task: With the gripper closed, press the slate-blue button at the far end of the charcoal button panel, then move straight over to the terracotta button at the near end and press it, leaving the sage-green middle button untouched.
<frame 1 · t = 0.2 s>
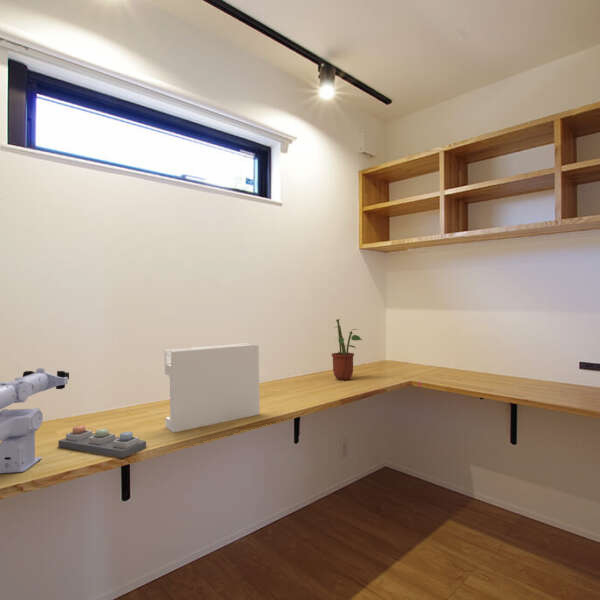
hand: (55, 375, 130), 22 cm above the table, tool horizontal, fingers open, 7 cm apart
terracotta button: (79, 429, 127), point 5 cm above the table, slide at 0.0 cm
potted plant: (346, 379, 232), on the table
block: (214, 420, 151), on the table
slate button: (126, 436, 120), point 5 cm above the table, slide at 0.0 cm
sage button: (101, 432, 124), point 5 cm above the table, slide at 0.0 cm
button panel: (102, 447, 124), on the table
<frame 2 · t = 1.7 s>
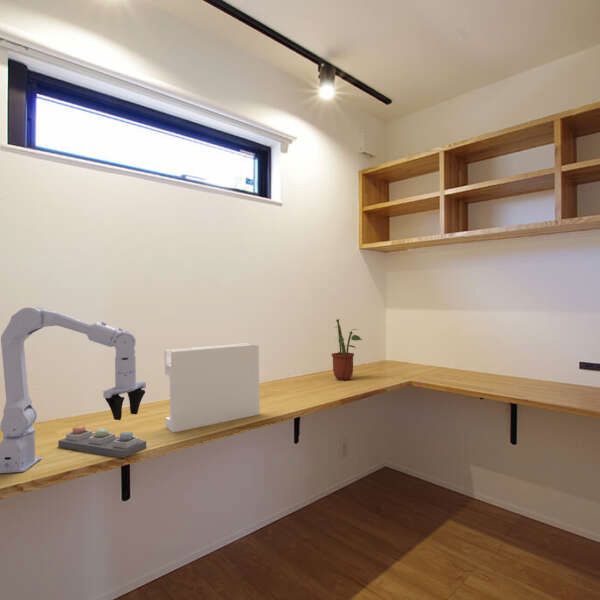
hand: (125, 416, 120), 10 cm above the table, tool pointing down, fingers open, 6 cm apart
nothing on the table moved.
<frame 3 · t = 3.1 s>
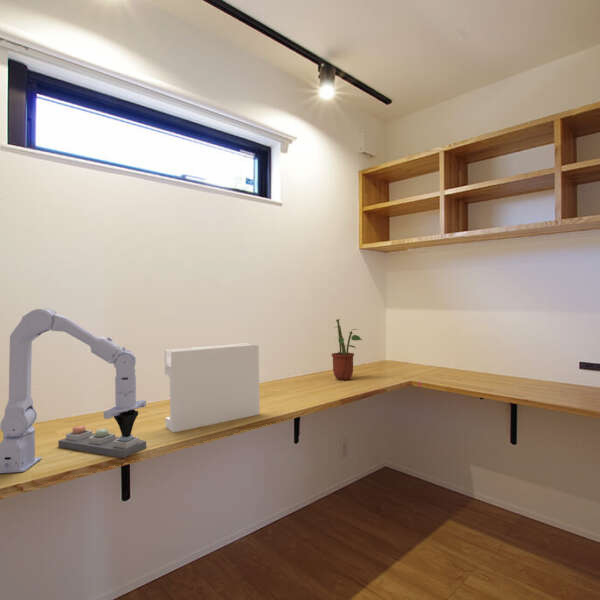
hand: (126, 436, 120), 5 cm above the table, tool pointing down, fingers closed, pressing on slate button
slate button: (126, 438, 120), point 4 cm above the table, slide at 0.8 cm, touching gripper
everything else where it was.
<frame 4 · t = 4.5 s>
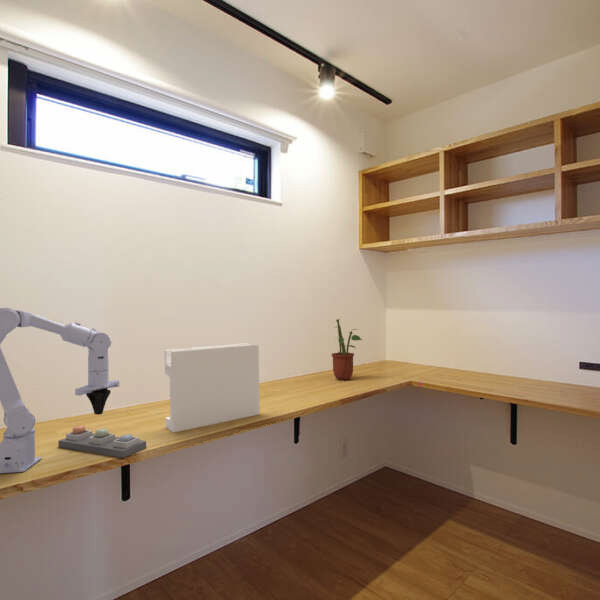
hand: (98, 413, 124), 10 cm above the table, tool pointing down, fingers closed
slate button: (126, 438, 120), point 4 cm above the table, slide at 0.8 cm
everything else where it was.
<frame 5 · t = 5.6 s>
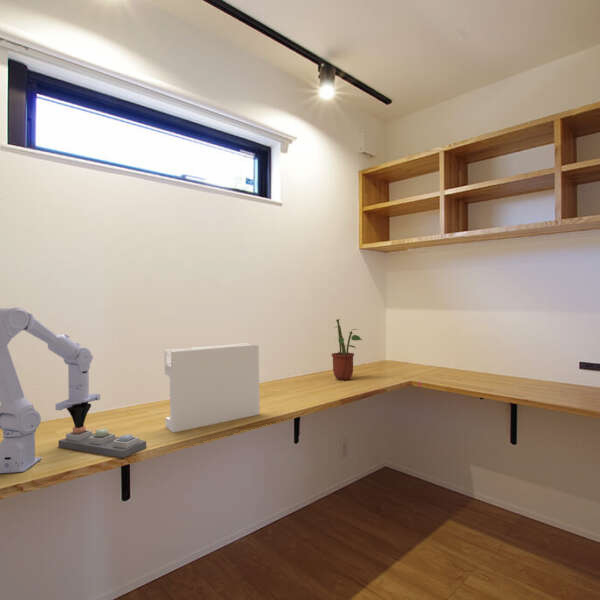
hand: (79, 427, 127), 5 cm above the table, tool pointing down, fingers closed, pressing on terracotta button
terracotta button: (79, 429, 127), point 5 cm above the table, slide at 0.0 cm, touching gripper
everything else where it was.
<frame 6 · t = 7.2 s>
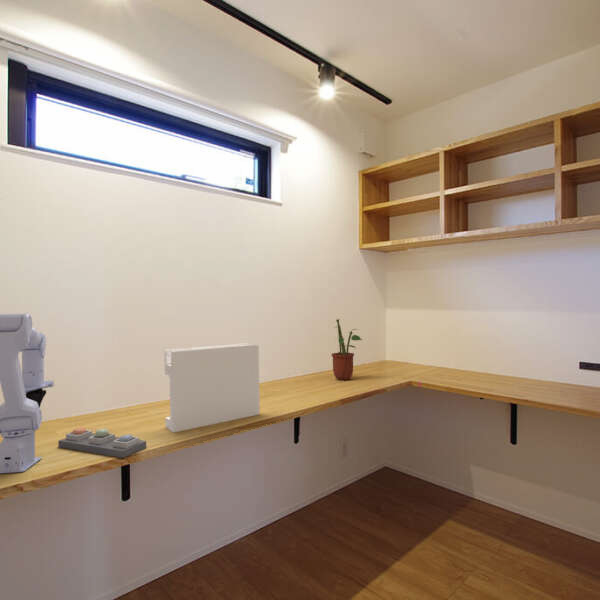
hand: (33, 414, 124), 10 cm above the table, tool pointing down, fingers closed
terracotta button: (79, 432, 127), point 4 cm above the table, slide at 0.8 cm
everything else where it was.
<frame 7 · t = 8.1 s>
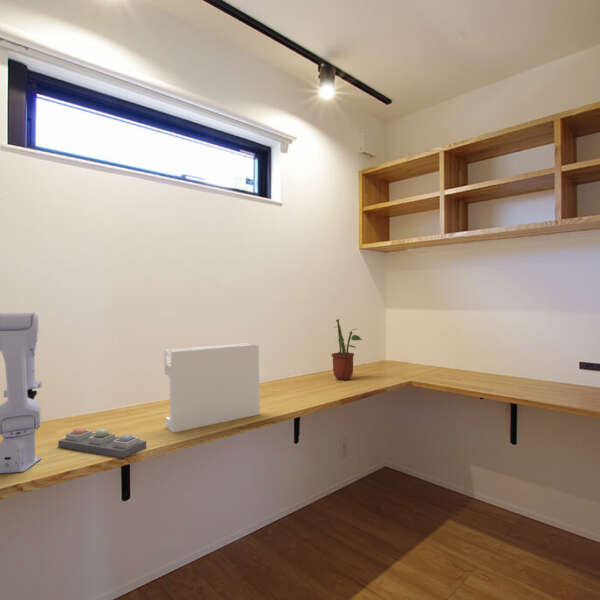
hand: (23, 415, 124), 10 cm above the table, tool pointing down, fingers closed
nothing on the table moved.
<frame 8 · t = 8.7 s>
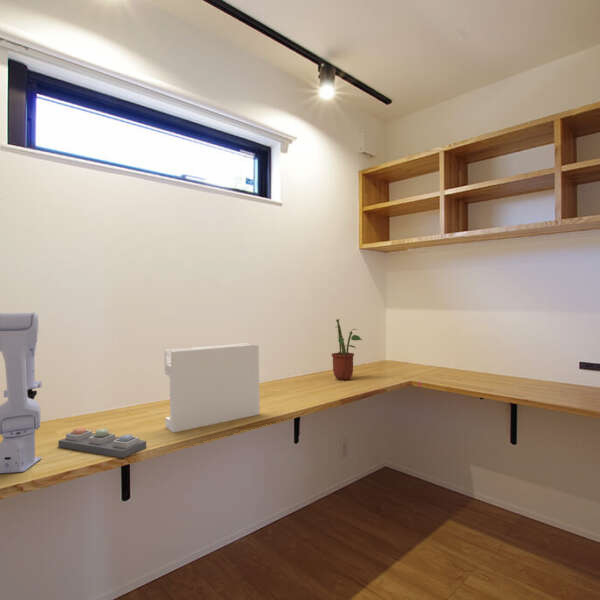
hand: (23, 415, 124), 10 cm above the table, tool pointing down, fingers closed
nothing on the table moved.
at the end: slate button slide at 0.8 cm; terracotta button slide at 0.8 cm; sage button slide at 0.0 cm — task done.
